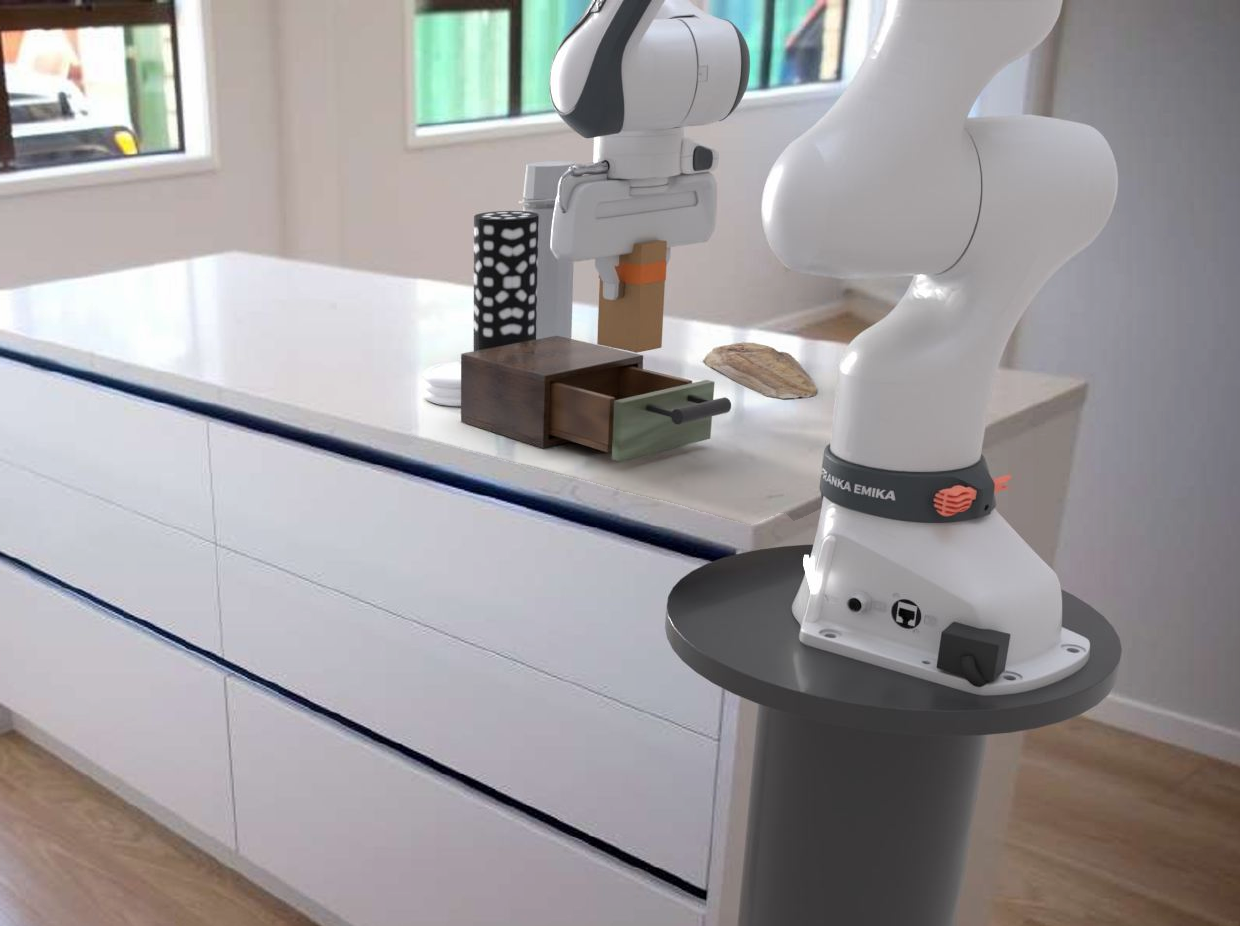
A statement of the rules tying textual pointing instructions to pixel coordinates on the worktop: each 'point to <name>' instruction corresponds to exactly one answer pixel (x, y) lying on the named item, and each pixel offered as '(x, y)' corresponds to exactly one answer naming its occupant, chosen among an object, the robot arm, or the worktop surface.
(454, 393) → the white round shallow piece
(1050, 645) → the robot arm
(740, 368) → the fish fossil
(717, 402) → the drawer
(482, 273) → the white-spotted black cylinder
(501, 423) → the cabinet
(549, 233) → the water bottle
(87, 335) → the worktop surface
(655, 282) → the block
